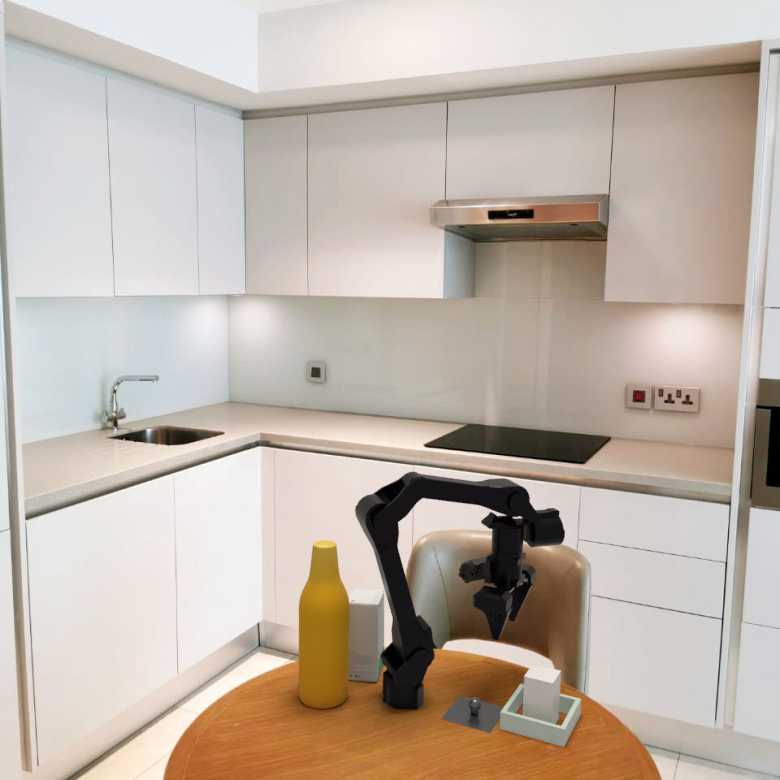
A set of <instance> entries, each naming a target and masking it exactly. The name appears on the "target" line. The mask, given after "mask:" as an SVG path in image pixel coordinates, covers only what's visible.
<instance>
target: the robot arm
mask: <svg viewBox="0 0 780 780" xmlns="http://www.w3.org/2000/svg"><path fill="white" fill-rule="evenodd" d="M422 499H427V500H435V501H443V502H450V503H458V504H465V505H466V504H467V505H473V506H474V505H476V506H480V507H483V508H485V509H488V510H491V511H490V512H489V513H488V515H486V516H485V517H484V518H483V519H481V521H480V522H481V524H482V525H483V526H485V527H486V528H488V529H489V530H491V549H490V551H491V552H490V553H488V555H486V556H484V557H479V558H478V557H477V558H472V559H469V560H466V561H464V562H462V563H461V565H460V566H459V568H458V570H459V573H458V577H459V578H461V580H462V581H463V582H464V583H465V584H470V583H471V582H476V581H481V580H484V585H483V586H482V587H481V588H480V589H478V590H477V591H475V593H474V594H473V595H472V607H473V608H476V609H477V610H479V611H481V612H482V613H484V615H485V617H486V620H487V624H488V628H489V631H490V635H491V638H492V640H494V641H499V640H500V638H501V636H502V634H503V631H504V628H505V626H506V623H507V621H510V622H515V621H516V619H517V618H518V615H519V614H520V611H521V609H522V607H523V606H524V603H525V601H526V599H527V597H528V595H529V593H530V591H531V589H532V587H533V586H534V583H535V582H536V580H537V570H536V569H535V568H534V566H533V565H531V564H525V563H523V561H525V560H526V558H527V556H526V555H527V553H526V552H524V542H525V543H526V544H527V545H528V546H529V547H530V548H537V547H549V546H560V545H562V544H563V542H564V540H565V537H566V536H565V534H566V530H565V529H564V524H563V522H562V519H561V517H560V510H558V509H556V508H554V507H548V508H545V509H535V508H534V506H533V505H532V503H531V502H530V500H531V498H530V494H529V492H528V490H527V489H526V488H525V487H524V486H522V485H519V483H517V482H514V481H513V480H511V479H508V478H506V477H505V478H488V479H484V480H480V481H478V480H477V481H474V480H468V479H461V478H460V479H459V478H455V477H454V478H453V477H446V476H445V477H444V476H438V475H437V476H436V475H431V474H424V473H419V472H417V471H408V472H407V473H405V474H404V475H402V476H400V478H399V479H396V480H395V481H393V482H391V483H388V484H386V485H384V486H382V487H380V488H379V489H378V490H376V491H375V492H374V493H370V494H367V495H365V496H363V497H362V498H361V499H360V500H359V501H358V503H357V505H355V509H354V511H355V517H356V520H357V521H358V524H359V525H360V528H361V529H362V532H363V533H364V535H365V537H366V538H367V540H368V542H369V543H370V545H371V547H372V549H373V552H374V556H375V560H376V563H377V566H378V570H379V573H380V578H381V581H382V585H383V588H384V589H383V590H384V593H385V595H386V599H387V602H388V606H389V610H390V613H391V617H392V621H391V642H390V643H389V645H388V646H387V647H385V648H384V651H383V652H382V653H381V655H380V657H381V660H382V662H383V664H384V666H383V667H385V668H386V670H384V671H383V672H382V702H384V703H386V705H388V707H390V708H392V709H395V710H402V711H404V710H412V711H413V710H416V711H417V710H419V709H420V708H421V707H422V705H423V704H424V696H425V695H424V691H425V690H424V689H425V687H424V686H425V684H424V678H425V676H426V674H427V671H428V668H429V667H430V665H431V664H432V662H433V661H434V660H435V658H436V657H435V655H436V654H435V650H436V649H438V647H437V645H436V644H435V642H434V639H433V631H432V627H431V626H430V625H429V624H428V623H427V621H426V620H425V619H424V618H423V617H422V615H421V614H418V615H417V613H416V610H415V605H414V603H413V598H412V595H411V591H410V588H409V584H408V581H407V576H406V573H405V570H404V566H403V562H402V559H401V555H400V551H399V536H400V529H399V528H400V527H399V526H400V525H399V522H401V521H402V520H403V519H404V518H406V517H407V516H408V515H409V513H410V512H411V511H412V510H413V508H414V507H415V506H416V505H417V503H419V502H420V501H421V500H422ZM492 511H494V512H496V513H499V514H502V515H497V514H496V513H494V512H492ZM485 584H488V585H485ZM489 584H490V585H491V584H493V586H489ZM434 649H435V650H434Z"/></svg>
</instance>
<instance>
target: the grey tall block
mask: <svg viewBox="0 0 780 780" xmlns="http://www.w3.org/2000/svg"><path fill="white" fill-rule="evenodd" d="M561 678H562V670H559V669H555V668H551V667H548V666H543V665H539V664H534V663H532V665H531V666H530V667H529V669H528V670H527V672H526V673H524V676H523V684H524V691H523V703H522V715H523V716H526V717H530V718H534V719H537V720H541V721H545V722H549V723H552V724H556V725H557V723H558V721H559V719H560V712H559V703H560V694H561V680H562V679H561Z"/></svg>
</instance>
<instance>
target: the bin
mask: <svg viewBox="0 0 780 780" xmlns="http://www.w3.org/2000/svg"><path fill="white" fill-rule="evenodd" d="M523 691H524V683H519V685H518V686H517V688H516V689H515V691H514V692H513V693H512V695H511V696H510V698H509V699H508V701H507V702H506V703H505V705H504V706H503V707H504V708H503V709H502V710H501V712H500V720H499V730H502V731H506V732H509V733H512V734H516V735H520V736H524V737H527V738H530V739H534V740H537V741H541V742H545V743H548V744H552V745H554V746H555V745H556V746H558V747H562V748H565V746H566V744H567V743H568V741H569V738H570V737H571V735H572V732H573V731H574V728H575V726H576V725H577V723H578V720H579V719H580V717H581V712H582V711H581V709H582V698H579V697H576V696H571V695H568V694H563V693H560V703H559V713H561V714H564V715H566V717H565V718H564V720H563V721H562V724H561V725H559V724H557V723H556V724H552V723H549V722H545V721H541V720H537V719H534V718H530V717H526V716H523V714H518V713H517V712H518V711H519V709H520V707H522V705H523Z"/></svg>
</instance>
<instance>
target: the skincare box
mask: <svg viewBox="0 0 780 780" xmlns="http://www.w3.org/2000/svg"><path fill="white" fill-rule="evenodd" d="M348 598H349V681H355V682H356V681H357V682H367V683H378V682H379V680H380V677H381V675H382V673H383V672H382V671H383V668H384V667H385V666H384V664H383V662H382V660H381V657H380V655H381V653H382V652H383V651H384V650H385V589H375V588H374V589H371V588H355V587H354V588H353V590H352V592H351V593H350V594H348Z"/></svg>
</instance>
